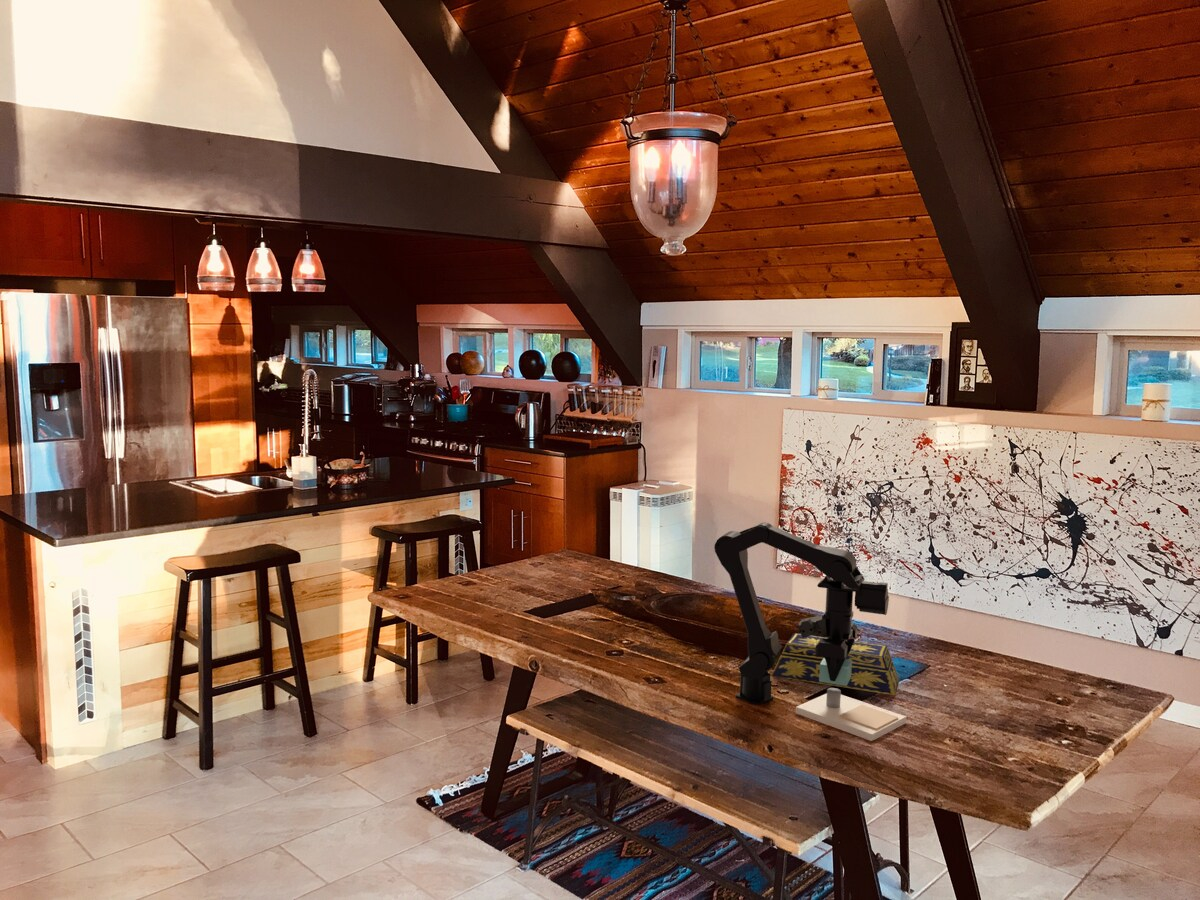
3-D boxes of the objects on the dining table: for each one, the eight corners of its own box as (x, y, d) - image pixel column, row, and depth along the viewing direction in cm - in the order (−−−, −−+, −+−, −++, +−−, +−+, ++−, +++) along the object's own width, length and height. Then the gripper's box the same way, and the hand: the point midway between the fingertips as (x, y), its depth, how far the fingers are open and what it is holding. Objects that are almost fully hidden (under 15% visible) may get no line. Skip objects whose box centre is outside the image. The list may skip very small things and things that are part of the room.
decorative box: (896, 697, 224) (898, 660, 223) (770, 677, 235) (771, 642, 234) (900, 681, 234) (902, 646, 233) (779, 663, 245) (780, 629, 244)
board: (795, 713, 213) (796, 691, 212) (831, 697, 222) (832, 676, 222) (871, 741, 199) (873, 718, 198) (905, 723, 209) (907, 701, 208)
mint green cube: (824, 672, 217) (825, 655, 216) (851, 677, 214) (852, 659, 214) (819, 681, 211) (819, 664, 211) (846, 686, 209) (847, 668, 208)
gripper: (810, 593, 222) (807, 657, 224) (793, 614, 205) (790, 684, 207) (859, 599, 218) (856, 665, 220) (845, 621, 201) (842, 692, 203)
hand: (835, 676), depth 213 cm, fingers closed on mint green cube, 6 cm apart
